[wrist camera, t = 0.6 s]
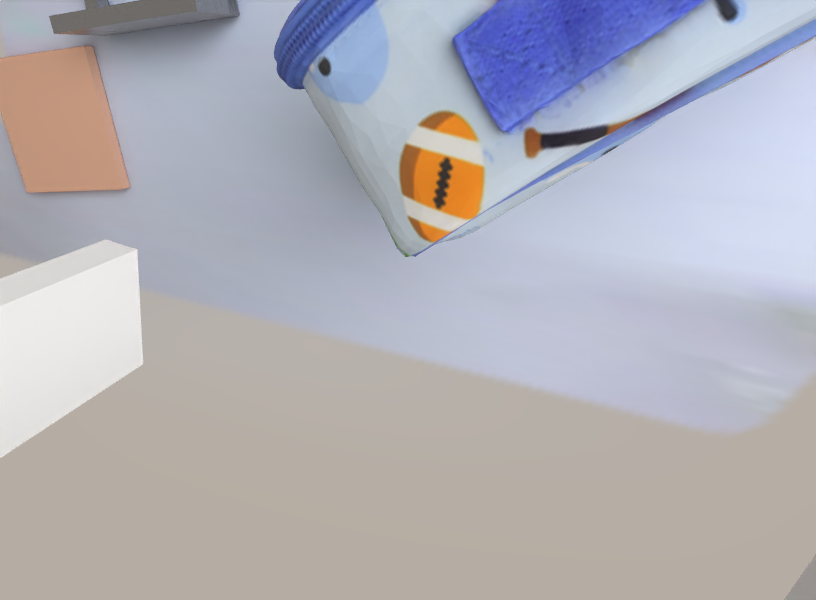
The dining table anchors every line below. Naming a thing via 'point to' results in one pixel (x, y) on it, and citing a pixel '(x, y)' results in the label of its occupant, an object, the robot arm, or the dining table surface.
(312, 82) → the lunch box
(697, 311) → the dining table surface
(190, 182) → the dining table surface
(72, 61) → the coaster
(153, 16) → the frame
